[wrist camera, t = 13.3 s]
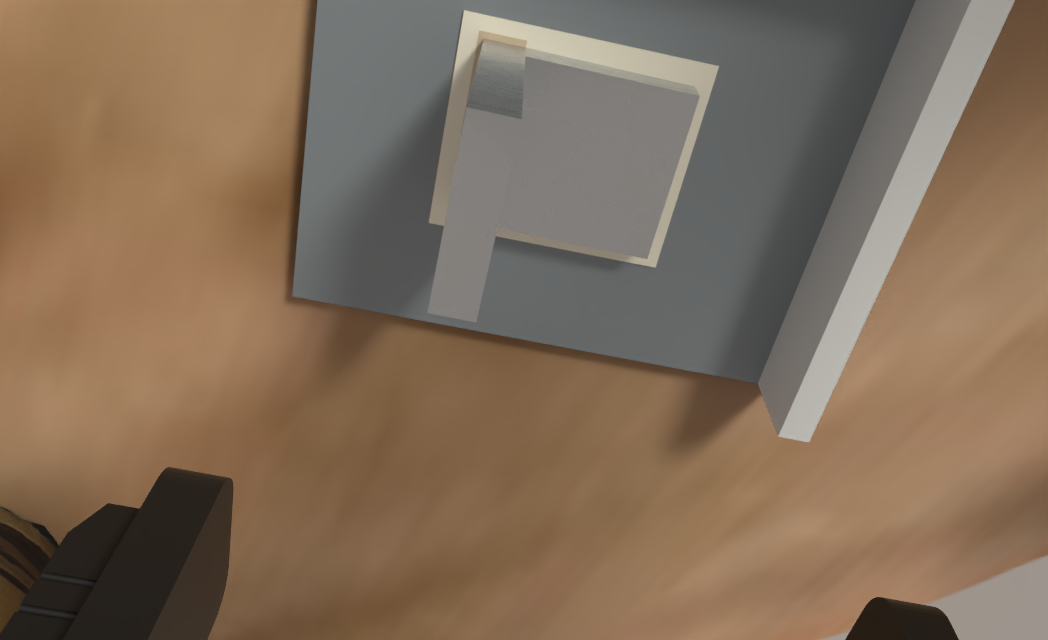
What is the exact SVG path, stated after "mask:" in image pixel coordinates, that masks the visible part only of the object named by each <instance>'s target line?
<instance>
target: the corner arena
mask: <svg viewBox="0 0 1048 640" xmlns="http://www.w3.org/2000/svg"><path fill="white" fill-rule="evenodd" d="M1014 2H1015V0H318V1H317V12H316V24H315V36H314V48H313V59H312V71H311V83H310V94H309V106H308V118H307V129H306V141H305V153H304V164H303V176H302V188H301V199H300V211H299V223H298V235H297V246H296V258H295V270H294V281H293V293H292V296H293V297H298V298H303V299H309V300H314V301H319V302H325V303H330V304H335V305H341V306H346V307H351V308H357V309H362V310H367V311H373V312H378V313H383V314H389V315H394V316H399V317H405V318H410V319H415V320H421V321H426V322H431V323H437V324H442V325H447V326H453V327H458V328H463V329H469V330H474V331H479V332H485V333H490V334H495V335H501V336H506V337H511V338H517V339H522V340H527V341H533V342H538V343H543V344H549V345H554V346H559V347H565V348H570V349H575V350H581V351H586V352H591V353H597V354H602V355H607V356H612V357H618V358H623V359H628V360H634V361H639V362H644V363H650V364H655V365H660V366H666V367H671V368H676V369H682V370H687V371H692V372H698V373H703V374H708V375H714V376H719V377H724V378H730V379H735V380H740V381H746V382H751V383H756V384H758V386H759V388H760V391H761V394H762V396H763V399H764V401H765V404H766V407H767V409H768V412H769V414H770V417H771V420H772V422H773V425H774V427H775V430H776V432H777V435H778V437H783V438H788V439H794V440H799V441H805V442H809V441H810V439H811V437H812V435H813V433H814V430H815V428H816V426H817V424H818V422H819V420H820V418H821V415H822V413H823V411H824V409H825V407H826V405H827V403H828V400H829V398H830V396H831V394H832V392H833V390H834V388H835V385H836V383H837V381H838V379H839V377H840V375H841V373H842V370H843V368H844V366H845V364H846V362H847V360H848V358H849V355H850V353H851V351H852V349H853V347H854V345H855V342H856V340H857V338H858V336H859V334H860V332H861V330H862V327H863V325H864V323H865V321H866V319H867V317H868V315H869V312H870V310H871V308H872V306H873V304H874V302H875V300H876V297H877V295H878V293H879V291H880V289H881V287H882V285H883V282H884V280H885V278H886V276H887V274H888V272H889V270H890V267H891V265H892V263H893V261H894V259H895V257H896V255H897V252H898V250H899V248H900V246H901V244H902V242H903V240H904V237H905V235H906V233H907V231H908V229H909V227H910V225H911V222H912V220H913V218H914V216H915V214H916V212H917V210H918V207H919V205H920V203H921V201H922V199H923V197H924V195H925V192H926V190H927V188H928V186H929V184H930V182H931V180H932V177H933V175H934V173H935V171H936V169H937V167H938V164H939V162H940V160H941V158H942V156H943V154H944V152H945V149H946V147H947V145H948V143H949V141H950V139H951V137H952V134H953V132H954V130H955V128H956V126H957V124H958V122H959V119H960V117H961V115H962V113H963V111H964V109H965V107H966V104H967V102H968V100H969V98H970V96H971V94H972V92H973V89H974V87H975V85H976V83H977V81H978V79H979V77H980V74H981V72H982V70H983V68H984V66H985V64H986V62H987V59H988V57H989V55H990V53H991V51H992V49H993V47H994V44H995V42H996V40H997V38H998V36H999V34H1000V32H1001V29H1002V27H1003V25H1004V23H1005V21H1006V19H1007V17H1008V14H1009V12H1010V10H1011V8H1012V6H1013V4H1014ZM484 38H486V39H490V40H494V41H499V42H503V43H507V44H512V45H516V46H520V47H525V48H529V49H533V50H538V51H542V52H547V53H551V54H555V55H560V56H564V57H568V58H573V59H577V60H581V61H586V62H590V63H594V64H599V65H603V66H608V67H612V68H616V69H621V70H625V71H629V72H634V73H638V74H642V75H647V76H651V77H655V78H660V79H664V80H669V81H673V82H677V83H682V84H686V85H690V86H694V87H695V88H696V90H697V92H698V94H699V95H700V98H699V101H698V104H697V107H696V110H695V113H694V116H693V119H692V123H691V126H690V129H689V132H688V135H687V138H686V141H685V144H684V147H683V150H682V153H681V157H680V160H679V163H678V166H677V169H676V172H675V175H674V178H673V181H672V184H671V187H670V191H669V194H668V197H667V200H666V203H665V206H664V209H663V212H662V215H661V218H660V221H659V225H658V228H657V231H656V234H655V237H654V240H653V243H652V246H651V249H650V252H649V255H648V259H644V258H639V257H634V256H629V255H624V254H620V253H615V252H610V251H605V250H600V249H596V248H591V247H586V246H581V245H577V244H572V243H567V242H562V241H557V240H553V239H548V238H543V237H538V236H533V235H529V234H524V233H519V232H514V231H509V230H505V229H500V228H497V232H496V237H495V241H494V246H493V250H492V254H491V259H490V263H489V268H488V272H487V277H486V281H485V286H484V290H483V295H482V299H481V304H480V308H479V313H478V317H477V322H471V321H466V320H461V319H456V318H451V317H446V316H440V315H435V314H430V313H428V308H429V302H430V297H431V292H432V286H433V281H434V276H435V271H436V265H437V260H438V255H439V250H440V244H441V239H442V234H443V229H444V223H445V218H446V213H447V208H448V202H449V197H450V192H451V187H452V181H453V176H454V171H455V166H456V160H457V155H458V150H459V145H460V139H461V134H462V129H463V123H464V118H465V113H466V108H467V104H468V100H469V96H470V92H471V88H472V84H473V80H474V76H475V72H476V68H477V64H478V60H479V56H480V52H481V48H482V44H483V40H484Z"/></svg>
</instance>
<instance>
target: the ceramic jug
mask: <svg viewBox="0 0 1048 640" xmlns="http://www.w3.org/2000/svg"><path fill="white" fill-rule="evenodd" d="M58 547H59V545H58V544H57V542H56V541H55V540H54V538H53V537H52V536H51V534H50V533H49V532H48V531H47V529H46V528H45V527H44V526H42V525H38V524H35V523H32V522H29V521H25V520H22V519H20V518H19V517H17V516H16V515H15V514H13V513H12V512H11V511H9V510H7V509H4V508H2V507H0V633H1V632H2V630H3V629H4V627H5V626H6V624H7V623H8V621H9V620H10V618H11V617H12V615H13V614H14V612H18V611H19V609H20V605H21V602H22V600H23V599H24V597H25V596H26V594H27V593H28V591H29V590H30V588H31V587H32V585H33V584H34V583H35V581H36V580H37V579H40V577H41V575H42V571H43V569H44V568H45V566H46V565H47V563H48V562H49V560H50V559H51V557H52V556H53V554H54V553H55V551H56V550H57V548H58Z"/></svg>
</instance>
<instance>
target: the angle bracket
mask: <svg viewBox="0 0 1048 640" xmlns="http://www.w3.org/2000/svg"><path fill="white" fill-rule="evenodd" d="M699 98H700V95H699V94H698V92H697V90H696V88H695V87H694V86H690V85H686V84H682V83H677V82H673V81H669V80H664V79H660V78H655V77H651V76H647V75H642V74H638V73H634V72H629V71H625V70H621V69H616V68H612V67H608V66H603V65H599V64H594V63H590V62H586V61H581V60H577V59H573V58H568V57H564V56H560V55H555V54H551V53H547V52H542V51H538V50H533V49H529V48H525V47H520V46H516V45H512V44H507V43H503V42H499V41H494V40H490V39H486V38H484V40H483V44H482V48H481V52H480V56H479V60H478V64H477V68H476V72H475V76H474V80H473V84H472V88H471V92H470V96H469V100H468V104H467V108H466V113H465V118H464V123H463V129H462V134H461V139H460V145H459V150H458V155H457V160H456V166H455V171H454V176H453V181H452V187H451V192H450V197H449V202H448V208H447V213H446V218H445V223H444V229H443V234H442V239H441V244H440V250H439V255H438V260H437V265H436V271H435V276H434V281H433V286H432V292H431V297H430V302H429V308H428V313H430V314H435V315H440V316H446V317H451V318H456V319H461V320H466V321H471V322H477V317H478V313H479V308H480V304H481V299H482V295H483V290H484V286H485V281H486V277H487V272H488V268H489V263H490V259H491V254H492V250H493V246H494V241H495V237H496V232H497V228H500V229H505V230H509V231H514V232H519V233H524V234H529V235H533V236H538V237H543V238H548V239H553V240H557V241H562V242H567V243H572V244H577V245H581V246H586V247H591V248H596V249H600V250H605V251H610V252H615V253H620V254H624V255H629V256H634V257H639V258H644V259H648V255H649V252H650V249H651V246H652V243H653V240H654V237H655V234H656V231H657V228H658V225H659V221H660V218H661V215H662V212H663V209H664V206H665V203H666V200H667V197H668V194H669V191H670V187H671V184H672V181H673V178H674V175H675V172H676V169H677V166H678V163H679V160H680V157H681V153H682V150H683V147H684V144H685V141H686V138H687V135H688V132H689V129H690V126H691V123H692V119H693V116H694V113H695V110H696V107H697V104H698V101H699Z"/></svg>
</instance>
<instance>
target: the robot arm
mask: <svg viewBox="0 0 1048 640" xmlns="http://www.w3.org/2000/svg"><path fill="white" fill-rule="evenodd" d="M232 503H233V481H232V479H231V478H227V477H221V476H216V475H210V474H205V473H199V472H193V471H188V470H182V469H177V468H171V467H168V468H166V469H165V470H164V471H163V472H162V473H161V474H160V476H159V477H158V479H157V481H156V482H155V484H154V486H153V488H152V489H151V491H150V493H149V494H148V496H147V498H146V499H145V501H144V503H143V505H142V506H141V508H140V509H138V508H132V507H126V506H121V505H115V504H109V503H108V504H107V505H105V506H104V507H103V508H101V509H100V510H98V511H97V512H96V513H94V514H93V515H92V516H90V517H89V518H87V519H86V520H85V521H83V522H82V523H81V524H79V525H78V526H76V527H75V528H74V529H72V530H71V531H70V532H68V533H67V535H66V536H65V538H64V539H63V541H62V542H61V544H60V545H59V547H58V548H57V550H56V551H55V553H54V554H53V556H52V557H51V559H50V560H49V562H48V563H47V565H46V566H45V568H44V569H43V571H42V575H41V577H40V579H37V580H36V581H35V583H34V584H33V585H32V587H31V588H30V590H29V591H28V593H27V594H26V596H25V597H24V599H23V600H22V602H21V605H20V609H19V611H18V612H14V614H13V615H12V617H11V618H10V620H9V621H8V623H7V624H6V626H5V627H4V629H3V630H2V632H1V633H0V640H207V639H208V636H209V634H210V632H211V629H212V627H213V624H214V622H215V619H216V617H217V614H218V611H219V608H220V605H221V601H222V598H223V594H224V590H225V586H226V581H227V575H228V568H229V553H230V537H231V520H232ZM846 640H959V639H958V637H957V635H956V633H955V631H954V629H953V627H952V625H951V623H950V621H949V619H948V618H947V616H946V615H945V614H944V613H943V612H942V611H941V610H940V609H938V608H936V607H932V606H926V605H921V604H915V603H909V602H904V601H898V600H893V599H887V598H881V597H877V598H874V599H872V600H871V601H870V602H869V603H868V604H867V605H866V606H865V608H864V610H863V611H862V613H861V615H860V616H859V618H858V619H857V621H856V623H855V624H854V626H853V628H852V629H851V631H850V633H849V634H848V636H847V638H846Z"/></svg>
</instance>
